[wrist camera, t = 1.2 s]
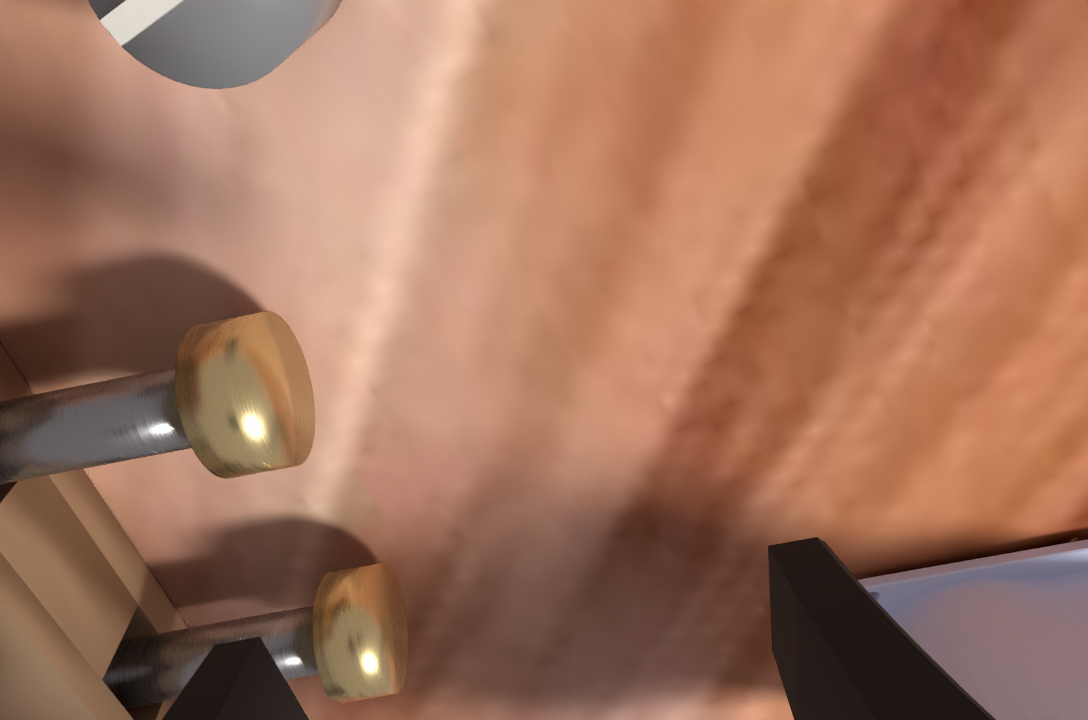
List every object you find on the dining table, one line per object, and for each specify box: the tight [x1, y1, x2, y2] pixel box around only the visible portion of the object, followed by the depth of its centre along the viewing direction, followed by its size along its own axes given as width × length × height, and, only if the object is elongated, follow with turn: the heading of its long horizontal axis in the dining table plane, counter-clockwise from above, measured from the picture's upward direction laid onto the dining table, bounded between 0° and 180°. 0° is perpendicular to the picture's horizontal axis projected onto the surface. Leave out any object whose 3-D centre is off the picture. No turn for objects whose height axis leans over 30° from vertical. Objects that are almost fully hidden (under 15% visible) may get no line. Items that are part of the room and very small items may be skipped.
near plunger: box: [0, 311, 315, 484], centre depth 17 cm, size 8×3×3 cm, turn 100°
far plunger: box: [102, 563, 408, 709], centre depth 21 cm, size 8×3×3 cm, turn 100°
